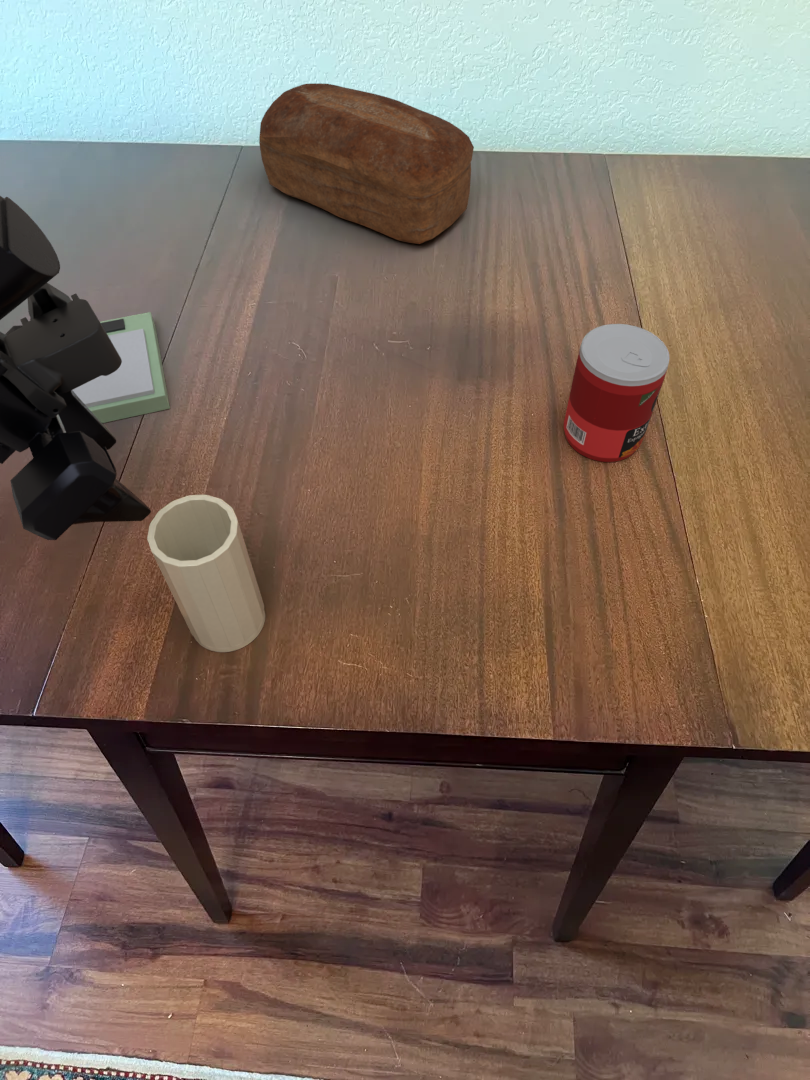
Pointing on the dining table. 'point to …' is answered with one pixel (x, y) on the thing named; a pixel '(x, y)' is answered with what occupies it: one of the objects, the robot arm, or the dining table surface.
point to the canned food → (614, 391)
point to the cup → (208, 571)
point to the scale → (129, 373)
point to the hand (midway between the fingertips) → (128, 478)
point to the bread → (367, 159)
